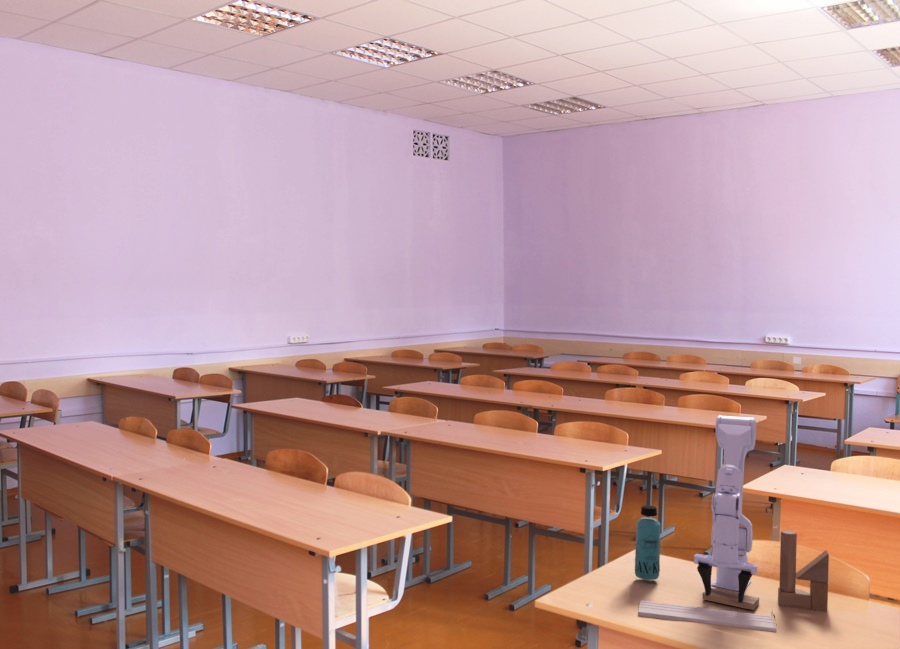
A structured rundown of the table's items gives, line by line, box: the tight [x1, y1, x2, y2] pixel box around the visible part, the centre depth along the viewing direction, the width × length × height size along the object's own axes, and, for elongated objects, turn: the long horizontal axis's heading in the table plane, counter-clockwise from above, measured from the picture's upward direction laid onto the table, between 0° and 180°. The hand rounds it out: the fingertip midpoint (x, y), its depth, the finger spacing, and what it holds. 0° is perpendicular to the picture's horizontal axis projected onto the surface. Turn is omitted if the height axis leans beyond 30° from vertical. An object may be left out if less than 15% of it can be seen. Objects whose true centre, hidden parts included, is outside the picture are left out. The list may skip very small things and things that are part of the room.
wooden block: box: [777, 529, 830, 613], centre depth 189 cm, size 4×11×18 cm, turn 71°
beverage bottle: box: [633, 504, 661, 581], centre depth 205 cm, size 6×7×20 cm
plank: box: [702, 587, 760, 611], centre depth 191 cm, size 6×12×2 cm, turn 57°
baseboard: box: [637, 600, 778, 633], centre depth 184 cm, size 30×3×10 cm
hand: (724, 597), depth 189 cm, fingers open, 7 cm apart
